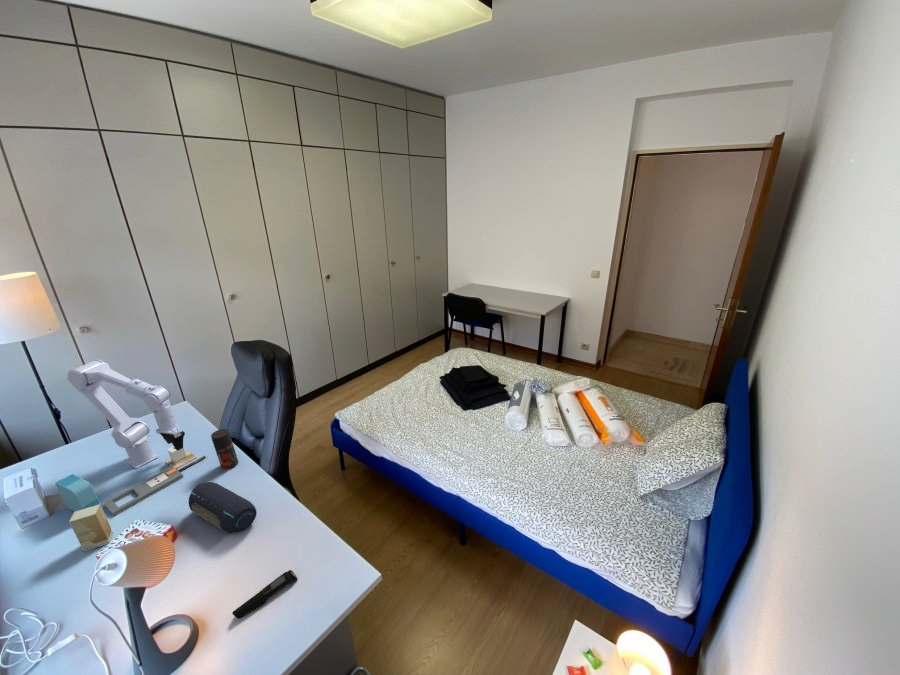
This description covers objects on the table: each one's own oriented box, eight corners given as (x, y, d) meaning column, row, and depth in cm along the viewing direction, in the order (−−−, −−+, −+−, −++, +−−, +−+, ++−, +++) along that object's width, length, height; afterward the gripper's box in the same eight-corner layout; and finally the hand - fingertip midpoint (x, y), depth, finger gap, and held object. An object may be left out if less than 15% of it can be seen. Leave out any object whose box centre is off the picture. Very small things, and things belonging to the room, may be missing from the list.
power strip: (104, 505, 126) (102, 500, 125) (200, 453, 150) (198, 449, 149) (114, 516, 121) (111, 511, 121) (211, 461, 145) (209, 457, 145)
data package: (104, 509, 124) (90, 482, 120) (87, 519, 120) (72, 492, 116) (85, 499, 129) (70, 472, 124) (68, 508, 125) (53, 481, 120)
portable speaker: (187, 515, 121) (178, 492, 117) (217, 494, 129) (209, 472, 125) (234, 545, 110) (226, 521, 106) (263, 520, 118) (256, 497, 114)
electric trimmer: (233, 615, 92) (229, 607, 91) (293, 571, 102) (290, 564, 101) (237, 626, 90) (234, 618, 88) (298, 580, 99) (296, 573, 98)
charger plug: (171, 461, 145) (166, 449, 143) (182, 455, 149) (178, 443, 146) (176, 465, 143) (171, 452, 141) (187, 459, 147) (183, 446, 144)
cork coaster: (165, 462, 145) (165, 461, 145) (187, 451, 152) (187, 450, 152) (174, 469, 141) (174, 469, 141) (196, 457, 148) (196, 457, 147)
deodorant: (241, 459, 146) (232, 429, 140) (232, 470, 140) (221, 438, 135) (228, 459, 146) (218, 428, 141) (217, 469, 141) (207, 438, 135)
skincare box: (83, 552, 109) (66, 522, 105) (89, 540, 113) (72, 511, 108) (111, 543, 112) (95, 513, 107) (115, 532, 115) (100, 503, 111)
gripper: (144, 416, 139) (155, 445, 144) (160, 428, 132) (172, 458, 137) (165, 407, 145) (175, 435, 150) (182, 418, 137) (192, 447, 143)
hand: (175, 445), depth 144 cm, fingers open, 7 cm apart
